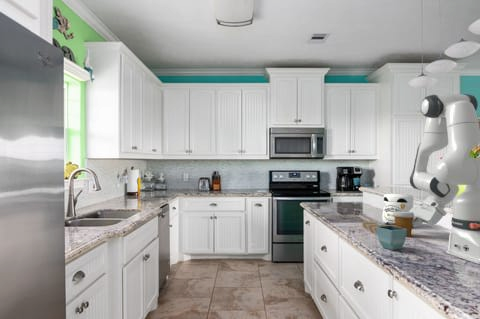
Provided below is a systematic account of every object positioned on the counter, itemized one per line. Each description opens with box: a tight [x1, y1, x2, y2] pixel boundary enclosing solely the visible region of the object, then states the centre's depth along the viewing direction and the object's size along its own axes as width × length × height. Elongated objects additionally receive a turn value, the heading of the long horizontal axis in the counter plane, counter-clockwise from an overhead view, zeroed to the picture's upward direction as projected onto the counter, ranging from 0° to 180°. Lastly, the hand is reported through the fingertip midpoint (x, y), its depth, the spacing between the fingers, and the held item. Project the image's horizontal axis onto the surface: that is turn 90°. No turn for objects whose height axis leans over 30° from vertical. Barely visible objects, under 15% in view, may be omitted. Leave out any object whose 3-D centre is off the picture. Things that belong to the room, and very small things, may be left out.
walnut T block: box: [361, 221, 396, 235], centre depth 166 cm, size 24×16×3 cm, turn 0°
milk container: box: [381, 193, 414, 225], centre depth 182 cm, size 17×17×18 cm
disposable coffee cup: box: [393, 211, 414, 238], centre depth 157 cm, size 10×10×12 cm
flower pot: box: [376, 226, 407, 251], centre depth 134 cm, size 9×9×9 cm
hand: (412, 225), depth 157 cm, fingers closed, pressing on disposable coffee cup
